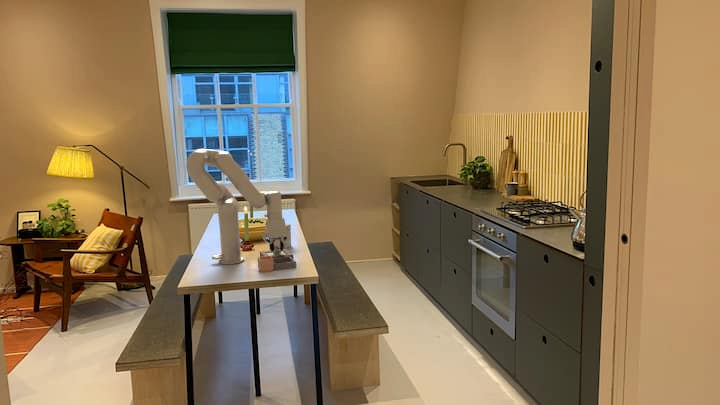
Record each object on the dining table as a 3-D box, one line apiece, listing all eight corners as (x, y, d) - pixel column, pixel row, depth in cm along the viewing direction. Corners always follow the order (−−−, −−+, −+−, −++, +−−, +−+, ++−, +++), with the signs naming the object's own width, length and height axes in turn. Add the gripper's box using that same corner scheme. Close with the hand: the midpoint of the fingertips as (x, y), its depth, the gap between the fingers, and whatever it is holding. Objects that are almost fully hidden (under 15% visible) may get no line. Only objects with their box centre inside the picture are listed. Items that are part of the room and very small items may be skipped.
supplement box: (273, 247, 303) (272, 225, 301) (280, 244, 309) (279, 223, 307) (285, 248, 300) (284, 226, 298) (291, 245, 307) (290, 223, 305)
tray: (274, 270, 258) (274, 264, 258) (269, 264, 268) (269, 259, 267) (296, 267, 262) (295, 261, 262) (289, 262, 272) (289, 256, 271)
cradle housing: (266, 263, 270) (266, 257, 269) (260, 257, 283) (259, 251, 282) (293, 260, 275) (293, 254, 275) (285, 254, 288) (285, 248, 288)
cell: (273, 254, 276) (272, 237, 274) (271, 252, 280) (270, 236, 278) (282, 253, 277) (281, 236, 276) (280, 251, 281) (279, 235, 280)
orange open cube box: (261, 272, 255) (260, 260, 254) (257, 269, 260) (257, 257, 259) (274, 270, 257) (273, 258, 256) (270, 267, 263) (270, 255, 262)
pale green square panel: (270, 259, 273) (270, 257, 273) (265, 255, 281) (265, 253, 281) (287, 256, 276) (287, 254, 276) (282, 252, 285) (282, 251, 284)
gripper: (260, 218, 269) (262, 254, 272) (292, 215, 275) (294, 249, 278) (256, 216, 275) (259, 251, 278) (288, 212, 282) (290, 246, 285)
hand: (276, 250), depth 278 cm, fingers closed on cell, 4 cm apart
